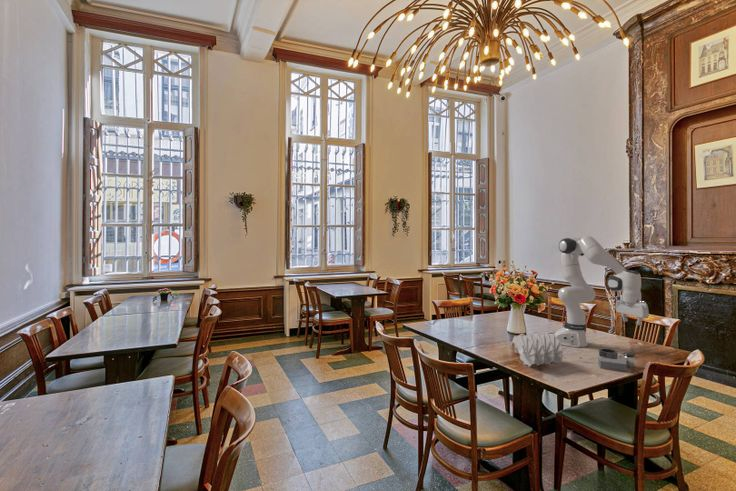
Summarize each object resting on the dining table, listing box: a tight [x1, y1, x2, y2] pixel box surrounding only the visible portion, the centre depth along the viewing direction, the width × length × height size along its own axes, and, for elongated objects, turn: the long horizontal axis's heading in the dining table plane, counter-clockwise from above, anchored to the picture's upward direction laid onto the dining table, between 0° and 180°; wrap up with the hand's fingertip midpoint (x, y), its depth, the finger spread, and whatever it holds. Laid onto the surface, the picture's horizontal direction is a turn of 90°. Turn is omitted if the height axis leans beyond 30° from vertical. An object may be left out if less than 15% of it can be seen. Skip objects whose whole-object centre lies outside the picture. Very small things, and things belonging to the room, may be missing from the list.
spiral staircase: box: [511, 331, 564, 368], centre depth 216 cm, size 18×18×25 cm
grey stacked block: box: [597, 347, 627, 372], centre depth 212 cm, size 12×9×9 cm
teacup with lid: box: [510, 333, 525, 355], centre depth 237 cm, size 12×9×12 cm
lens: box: [622, 352, 636, 369], centre depth 214 cm, size 5×5×7 cm
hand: (631, 323), depth 216 cm, fingers open, 8 cm apart
